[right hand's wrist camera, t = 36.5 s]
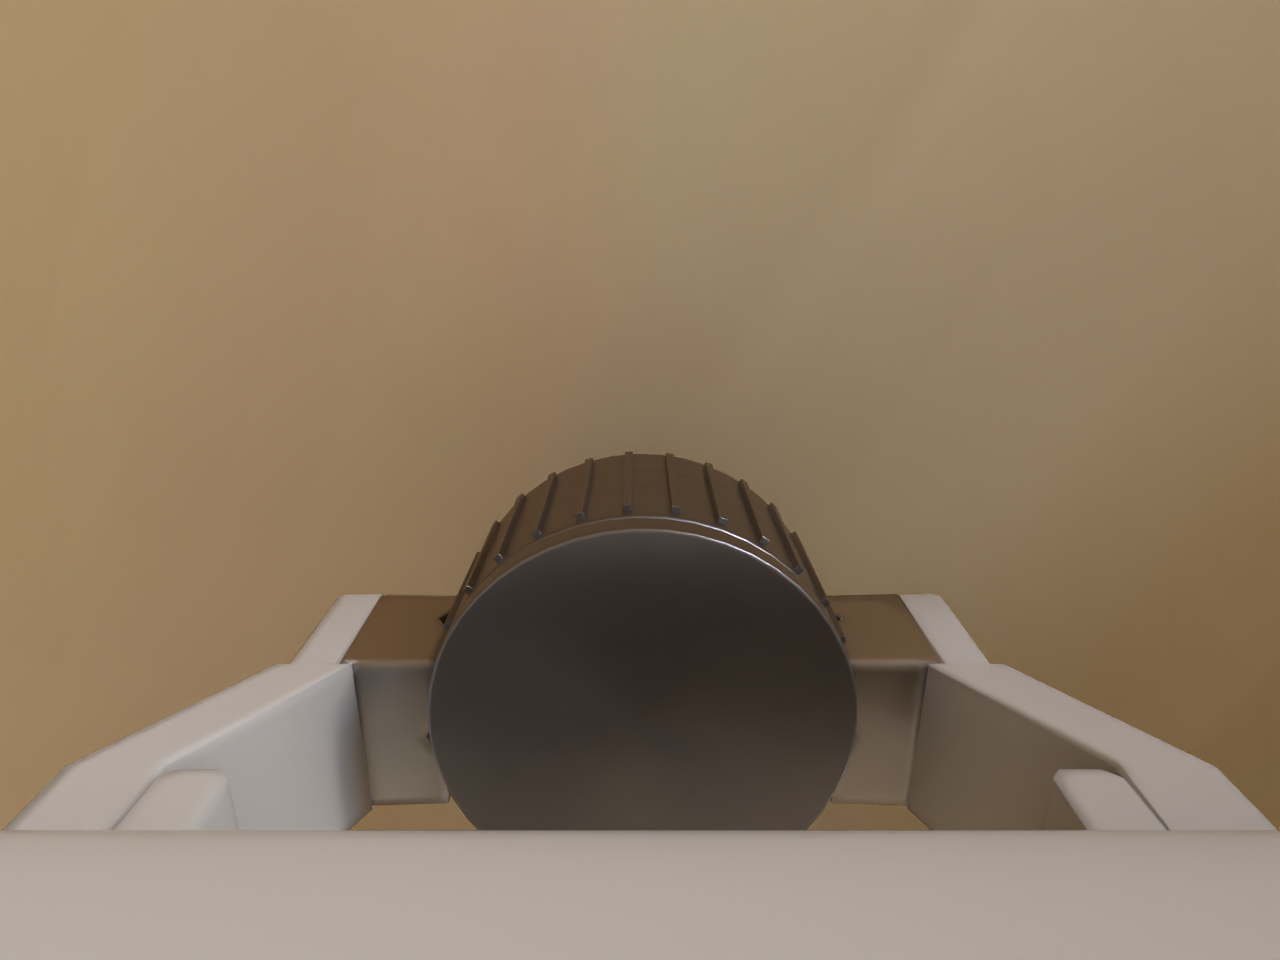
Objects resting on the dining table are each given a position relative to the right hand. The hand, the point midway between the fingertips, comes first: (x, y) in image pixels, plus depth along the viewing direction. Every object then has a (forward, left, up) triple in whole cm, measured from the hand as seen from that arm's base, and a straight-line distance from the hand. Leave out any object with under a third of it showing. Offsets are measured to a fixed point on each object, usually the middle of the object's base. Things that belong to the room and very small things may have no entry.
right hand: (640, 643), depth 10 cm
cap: (0, 0, +2) cm, 2 cm away
